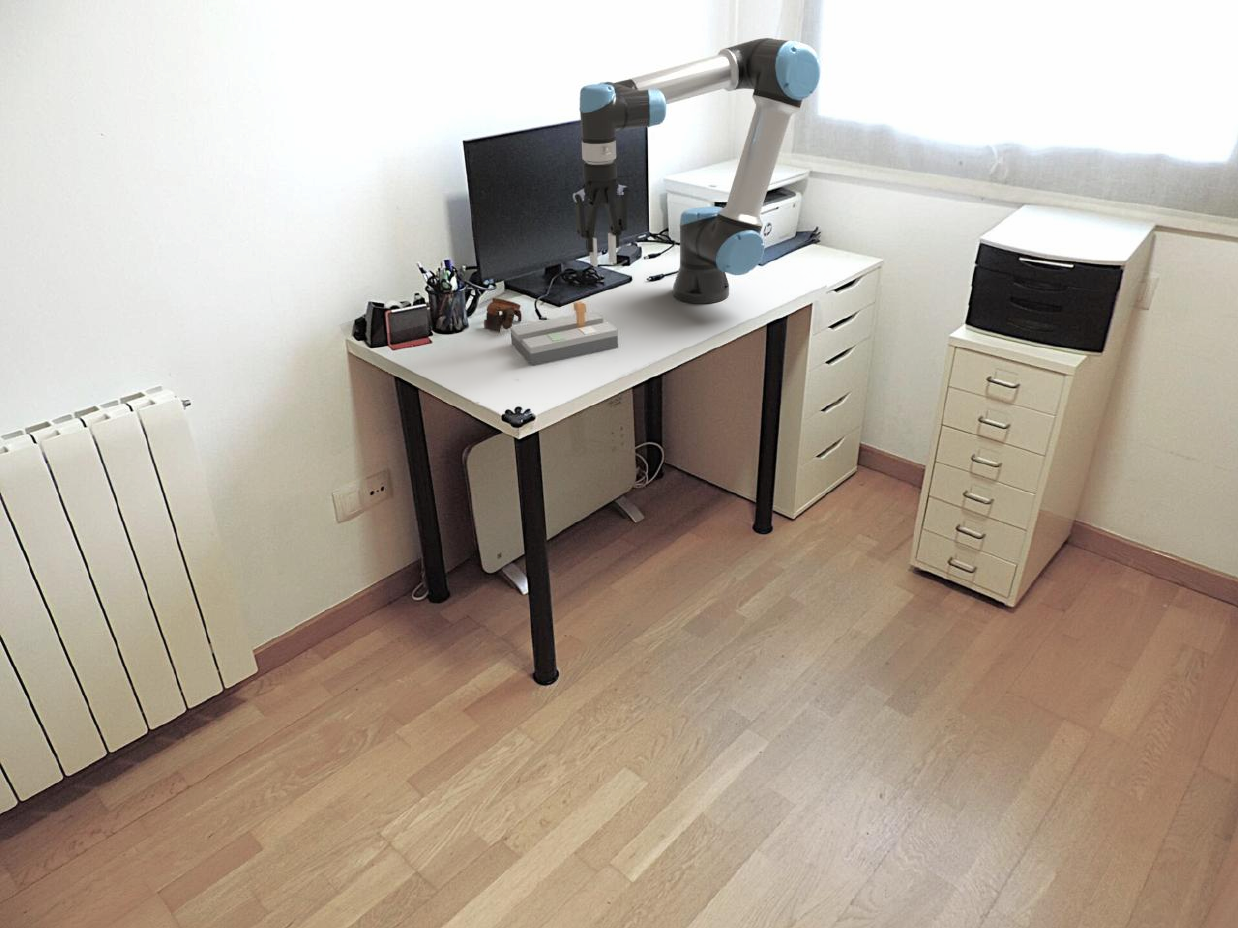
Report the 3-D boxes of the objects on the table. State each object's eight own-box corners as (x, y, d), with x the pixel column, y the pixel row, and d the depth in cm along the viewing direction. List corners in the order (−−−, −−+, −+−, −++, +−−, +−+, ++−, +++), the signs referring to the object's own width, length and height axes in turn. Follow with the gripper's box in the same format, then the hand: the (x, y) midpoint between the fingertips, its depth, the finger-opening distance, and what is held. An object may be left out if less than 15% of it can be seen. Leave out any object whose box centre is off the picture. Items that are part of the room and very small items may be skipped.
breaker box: (594, 327, 224) (593, 309, 222) (618, 347, 213) (617, 328, 211) (511, 344, 217) (510, 326, 214) (531, 365, 206) (530, 347, 203)
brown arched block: (476, 327, 228) (483, 295, 227) (509, 336, 233) (516, 305, 232) (493, 330, 218) (501, 297, 217) (528, 339, 223) (536, 307, 222)
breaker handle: (582, 326, 216) (581, 300, 213) (587, 330, 214) (586, 304, 211) (574, 328, 216) (573, 302, 212) (579, 332, 213) (578, 306, 210)
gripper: (570, 169, 191) (575, 274, 203) (641, 159, 197) (643, 262, 209) (557, 162, 197) (563, 265, 209) (627, 153, 203) (629, 253, 215)
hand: (603, 263), depth 209 cm, fingers open, 4 cm apart
